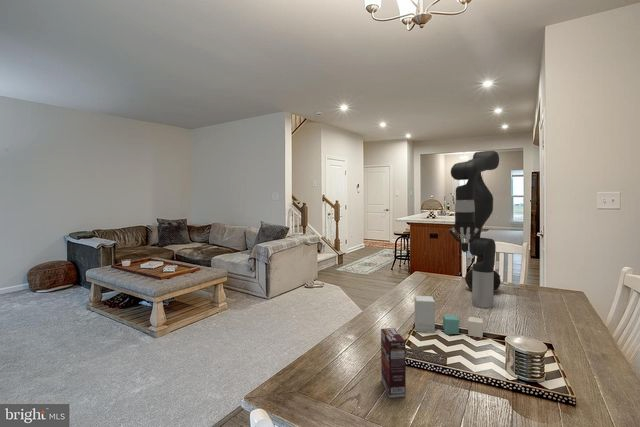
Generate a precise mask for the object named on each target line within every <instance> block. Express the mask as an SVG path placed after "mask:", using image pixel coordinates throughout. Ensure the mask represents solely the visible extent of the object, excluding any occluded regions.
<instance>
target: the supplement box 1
mask: <svg viewBox="0 0 640 427" xmlns="http://www.w3.org/2000/svg"><path fill="white" fill-rule="evenodd" d="M406 347H407V346H406V340H405V339H404V337H403V336H402V335H401V334H400V332H399V331H398V330H397V327H389V328H388V327H387V328H381V329H380V349H381V350H380V356H381V357H380V359H381V360H380V361H381V362H380V363H381V367H380V368H381V373H380V374H381V377H380V378H381V379H380V380H381V382H382V384H383V387H384V388H385V390H386V393H387V394H388V397H389V399H392V398H393V399H394V398H404V397H406V396H407V395H406V394H407V392H406V391H407V389H406V380H407V378H406V377H407V376H406V371H407V369H406V355H407V354H406Z"/></svg>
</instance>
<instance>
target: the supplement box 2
mask: <svg viewBox="0 0 640 427" xmlns="http://www.w3.org/2000/svg"><path fill="white" fill-rule="evenodd" d="M414 328H415V332H418V333H419V332H421V333H432V334H433V333H435V332H436V330H435V329H436V301H435V299H434V296H430V295H429V296H428V295H414Z"/></svg>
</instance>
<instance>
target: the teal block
mask: <svg viewBox="0 0 640 427" xmlns="http://www.w3.org/2000/svg"><path fill="white" fill-rule="evenodd" d="M443 329H444V330H443ZM442 330H443V332H444V334H445V335H451V334H459V335H460V319H459V318H458V317H457V315H456V314H455V315H454V314H442Z"/></svg>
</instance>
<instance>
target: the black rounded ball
mask: <svg viewBox="0 0 640 427" xmlns="http://www.w3.org/2000/svg"><path fill="white" fill-rule="evenodd" d="M483 259H484V257H480V256H476V261H475V263H479V262H482V261H483ZM464 280H465V283H466V285H467V286H468V288H469V289H470V290H472V283H473V268H472V269H470V270H468V271H467V272H466V273H465V276H464ZM501 282H502V281H501V275H500V274H499V273H498V272H497V271H496V270H494V281H493V293H494V292H495V291H497V290H498V289H499V288H500V286H501Z"/></svg>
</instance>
